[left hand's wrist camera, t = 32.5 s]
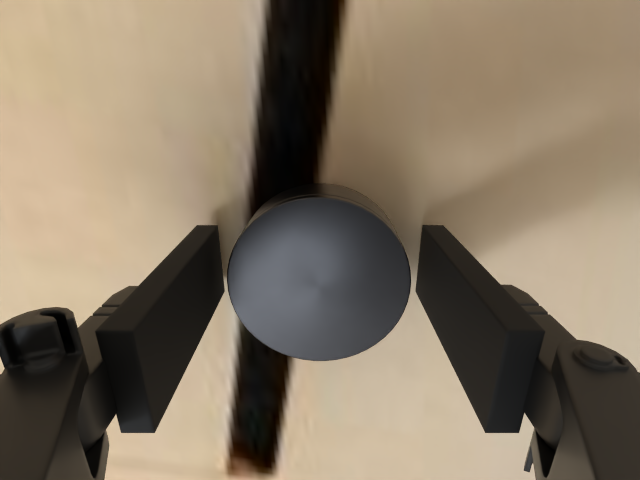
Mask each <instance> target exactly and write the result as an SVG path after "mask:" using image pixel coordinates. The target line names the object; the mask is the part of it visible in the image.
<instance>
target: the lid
mask: <svg viewBox="0 0 640 480" xmlns="http://www.w3.org/2000/svg"><path fill="white" fill-rule="evenodd" d="M227 284H228V292H229V295H230V299H231V303H232V305H233V307H234V310H235V312H236V314H237V315H238V317H239V319H240V321H241V322H242V323H243V324H244V326H245V327H246V328H247V329H248V330H249V331H250V332H251V333H252V334H253V335H254V337H256V338H257V339H258V340H260V341H261V342H262V343H263V344H265V345H267V346H268V347H270V348H272V349H273V350H276V351H278V352H280V353H282V354H285V355H288V356H291V357H294V358H299V359H303V360H311V361H329V360H337V359H342V358H347V357H350V356H353V355H356V354H358V353H361V352H363V351H365V350H367V349H369V348H370V347H372V346H374V345H375V344H377V343H378V342H379V341H381V340H382V339H383V338H384V337H385V336H386V335H387V334H388V333H389V332H390V331H391V330H392V329H393V328H394V327H395V325H396V324H397V323H398V321H399V319H400V318H401V316H402V314H403V312H404V310H405V307H406V305H407V302H408V298H409V294H410V287H411V273H410V266H409V262H408V258H407V255H406V253H405V250H404V248H403V246H402V243H401V241H400V239H399V237H398V235H397V233H396V231H395V229H394V227H393V225H392V223H391V222H390V220H389V219H388V217H387V216H386V215H385V213H384V212H383V211H382V210H381V209H380V208H379V207H378V206H377V205H376V204H375V203H374V202H372V201H371V200H370V199H369V198H367V197H366V196H364V195H362V194H360V193H359V192H356V191H354V190H352V189H349V188H346V187H343V186H339V185H334V184H326V183H313V184H306V185H300V186H297V187H293V188H290V189H288V190H285V191H283V192H281V193H279V194H277V195H276V196H274V197H272V198H271V199H269V200H268V201H267V202H266V203H264V204H263V205H262V206H261V207H260V208H259V209H258V210H257V212H256V213H255V214H254V216H253V217H252V218H251V220H250V221H249V223H248V224H247V226H246V227H245V229H244V231H243V232H242V234H241V235H240V237H239V238H238V240H237V242H236V244H235V246H234V248H233V250H232V253H231V256H230V259H229V264H228V270H227Z"/></svg>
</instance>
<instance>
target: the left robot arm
mask: <svg viewBox="0 0 640 480" xmlns="http://www.w3.org/2000/svg"><path fill="white" fill-rule="evenodd" d="M224 291H225V290H224V281H223V271H222V262H221V252H220V243H219V233H218V225H197V226H196V227H195V228H194V229H193V230H192V231H191V232H190V233H189V234H188V235H187V236H186V237H185V238H184V239H183V240H182V241H181V242H180V244H179V245H178V246H177V247H176V248H175V249H174V250H173V251H172V252H171V253H170V254H169V255H168V256H167V257H166V258H165V259H164V260H163V261H162V262H161V263H160V264H159V265H158V266H157V267H156V268H155V269H154V270H153V271H152V273H151V274H150V275H149V276H148V277H147V278H146V279H145V280H144V281H143V282H142V283H141V284H140V285H139V286H128V287H126V288H125V289H123V290H121V291H119V292H117V293H115V294H114V295H112V296H111V297H110V298H109V299H108V300H107V301H106V302H105V303H104V304H103V305H102V307H100V308H98V309H97V310H96V311H95V312H94V313H93V316H90V317H89V318H88V319H87V320H86V321H85V322H84V323H83V324H82V325H81V326H80V327H78V328H77V324H76V321H75V317H74V314H73V312H72V311H70V310H69V309H67V308H60V307H52V308H42V309H38V310H34V311H30V312H26V313H24V314H21V315H19V316H16V317H13V318H11V319H10V320H8V321H6V322H4V323H2V324H1V325H0V357H1V360H2V362H3V365H4V368H5V369H4V371H3V373H2V374H0V480H104V478H105V471H106V464H107V457H108V451H109V441H108V436H107V432H106V429H107V427H108V425H109V424H110V422H111V421H112V419H113V418H114V416H115V415H117V418H118V422H119V426H120V430H121V433H155V431H156V429H157V427H158V425H159V423H160V421H161V419H162V417H163V415H164V413H165V411H166V409H167V407H168V405H169V403H170V401H171V399H172V397H173V395H174V393H175V391H176V389H177V387H178V385H179V383H180V381H181V378H182V376H183V374H184V372H185V370H186V368H187V366H188V364H189V362H190V360H191V358H192V356H193V354H194V352H195V350H196V348H197V346H198V344H199V342H200V340H201V338H202V336H203V334H204V332H205V330H206V328H207V326H208V324H209V322H210V320H211V318H212V316H213V314H214V312H215V310H216V308H217V306H218V304H219V302H220V300H221V297H222V295H223V293H224ZM416 293H417V295H418V297H419V299H420V301H421V303H422V305H423V307H424V309H425V311H426V313H427V315H428V317H429V319H430V321H431V323H432V325H433V328H434V330H435V332H436V334H437V336H438V338H439V340H440V342H441V344H442V346H443V348H444V350H445V352H446V354H447V356H448V358H449V360H450V362H451V364H452V366H453V368H454V370H455V372H456V374H457V376H458V378H459V380H460V382H461V384H462V386H463V388H464V390H465V392H466V394H467V396H468V398H469V400H470V402H471V404H472V406H473V409H474V411H475V413H476V415H477V417H478V419H479V421H480V423H481V425H482V427H483V429H484V431H485V433H519V431H520V427H521V423H522V419H523V415H524V412H525V414H526V415H527V417H528V418H529V420H530V422H531V423H532V425H533V426H534V432H533V436H532V439H531V443H530V446H529V450H528V453H527V457H526V461H525V466H524V471H527V472H530V469H531V465H532V463H534V470H535V477H536V480H640V373H639V372H637V370H636V368H635V367H634V366H633V365H632V364H631V363H630V362H629V360H628V359H626V358H625V357H623V356H622V355H620V354H619V353H617V352H616V351H614V350H611V349H609V348H607V347H605V346H602V345H599V344H596V343H592V342H589V341H582V340H576V339H575V338H574V337H573V336H572V335H571V334H570V333H569V332H568V331H567V330H566V329H565V328H564V327H563V326H562V325H560V324H559V323H558V322H557V321H556V320H555V319H554V318H553V317H552V316H551V315H548V312H547V311H546V310H545V309H544V308H542V307H541V306H539V304H538V303H537V302H536V301H535V300H534V299H533V298H532V297H531V296H530V295H529V294H528V293H526V292H524V291H522V290H520V289H518V288H516V287H514V286H513V285H500V284H499V283H498V282H497V281H496V280H495V279H494V277H493V276H492V275H491V274H490V273H489V272H488V271H487V270H486V269H485V268H484V267H483V266H482V265H481V264H480V263H479V262H478V261H477V260H476V259H475V258H474V257H473V256H472V255H471V254H470V253H469V252H468V251H467V250H466V249H465V247H464V246H463V245H462V244H461V243H460V242H459V241H458V240H457V239H456V238H455V237H454V236H453V235H452V234H451V233H450V232H449V231H448V230H447V229H446V228H445V227H444V226H443V225H422V235H421V244H420V254H419V263H418V273H417V282H416Z"/></svg>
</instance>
